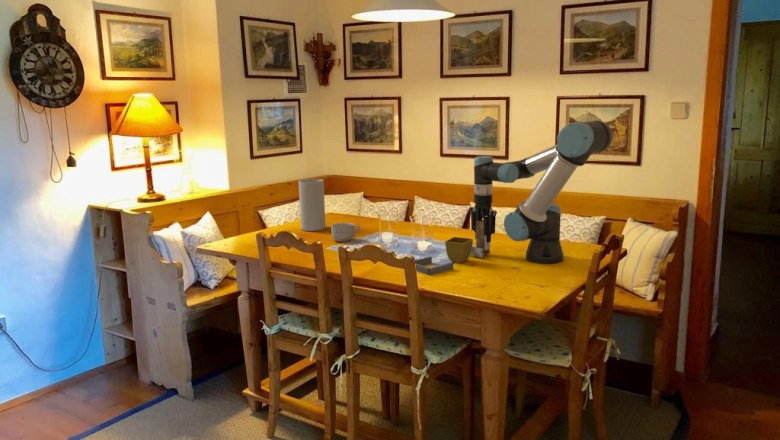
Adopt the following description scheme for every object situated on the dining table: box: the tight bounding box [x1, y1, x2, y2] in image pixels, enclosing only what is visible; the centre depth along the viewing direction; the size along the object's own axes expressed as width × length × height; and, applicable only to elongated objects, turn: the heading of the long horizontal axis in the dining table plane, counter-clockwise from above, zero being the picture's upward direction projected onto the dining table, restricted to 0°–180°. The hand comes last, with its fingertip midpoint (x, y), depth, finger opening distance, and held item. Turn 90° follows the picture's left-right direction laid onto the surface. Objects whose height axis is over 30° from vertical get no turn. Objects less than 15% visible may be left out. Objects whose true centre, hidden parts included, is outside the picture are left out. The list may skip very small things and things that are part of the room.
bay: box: [414, 256, 454, 276], centre depth 253 cm, size 14×12×2 cm
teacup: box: [330, 222, 362, 243], centre depth 302 cm, size 14×11×8 cm
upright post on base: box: [470, 219, 491, 259], centre depth 268 cm, size 9×8×14 cm
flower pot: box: [444, 236, 474, 264], centre depth 262 cm, size 9×9×9 cm
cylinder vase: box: [298, 178, 327, 232], centre depth 327 cm, size 12×12×25 cm
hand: (482, 248), depth 270 cm, fingers closed on upright post on base, 4 cm apart
